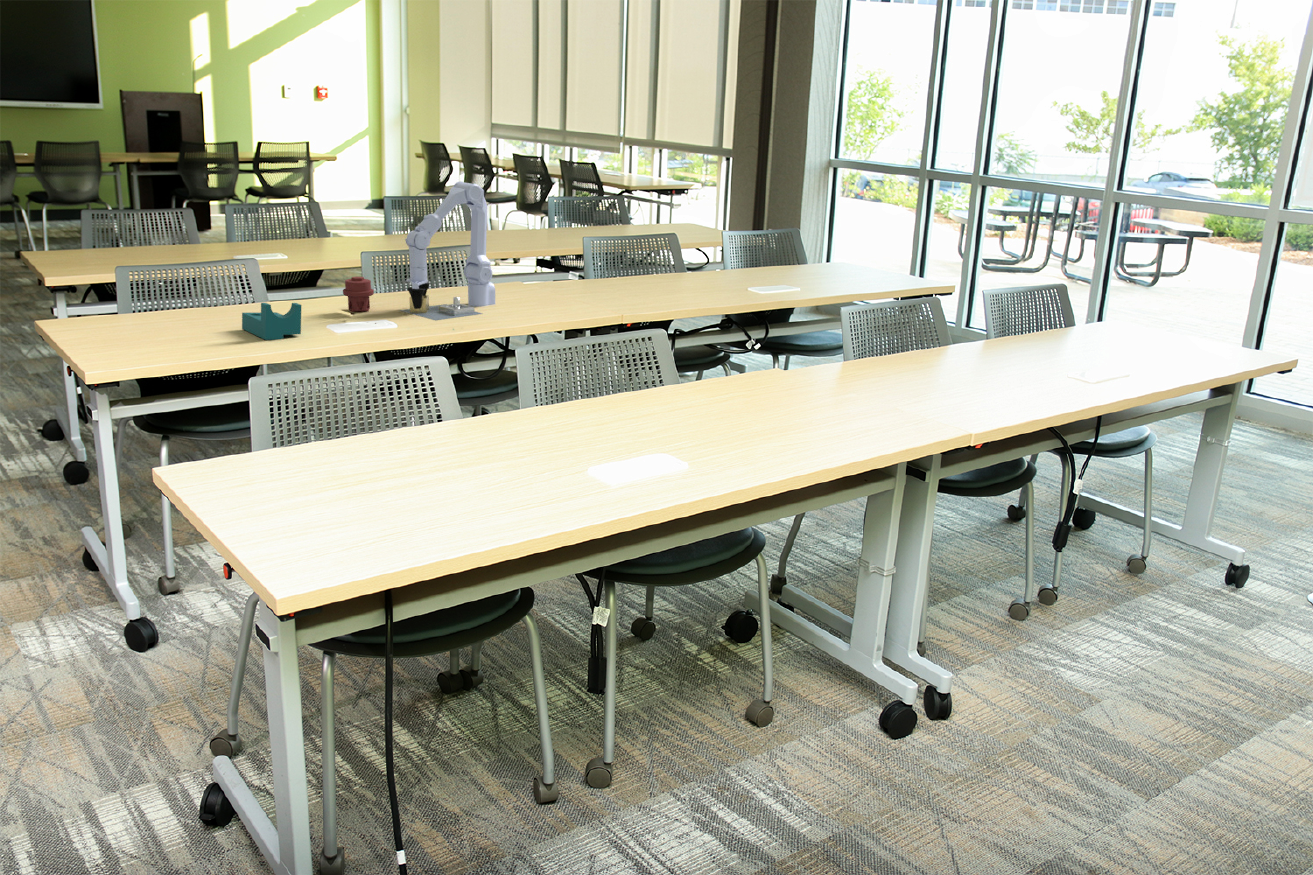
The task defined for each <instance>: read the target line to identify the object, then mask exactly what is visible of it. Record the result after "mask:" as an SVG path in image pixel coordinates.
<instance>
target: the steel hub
mask: <svg viewBox="0 0 1313 875" xmlns="http://www.w3.org/2000/svg"><path fill="white" fill-rule="evenodd" d="M452 300H453V301H452V303H450V304H447V305H443V304H441V305H442V306H439V312H442V313H446V314H450V315H453V316H456V315H463V314H471V313H475V312H476V311H475V307H476V306H470V305H468V304H464V303H463V304H462V303H461V297H460V296H453V298H452Z"/></svg>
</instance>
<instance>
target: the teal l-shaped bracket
mask: <svg viewBox="0 0 1313 875" xmlns="http://www.w3.org/2000/svg"><path fill="white" fill-rule="evenodd" d="M241 314H242V315H241V329H242V330H244V331H246V332H248V333H251V334H252V335H255V336H257V337H259V338H260V339H263V340H265V341H266V340H269V341H270V340H271V341H272V340H273V341H275V340H283V339H284V335H291V336H292V335H301V334H302V304H301V303H299V302H298V303H297V302H292V303H291V306H290V308H289V310H288V312H286V313H285V314H281V313H279V312H274V311H273V309H272V305H271V304H269V303H267V302H260V312H241Z"/></svg>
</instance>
